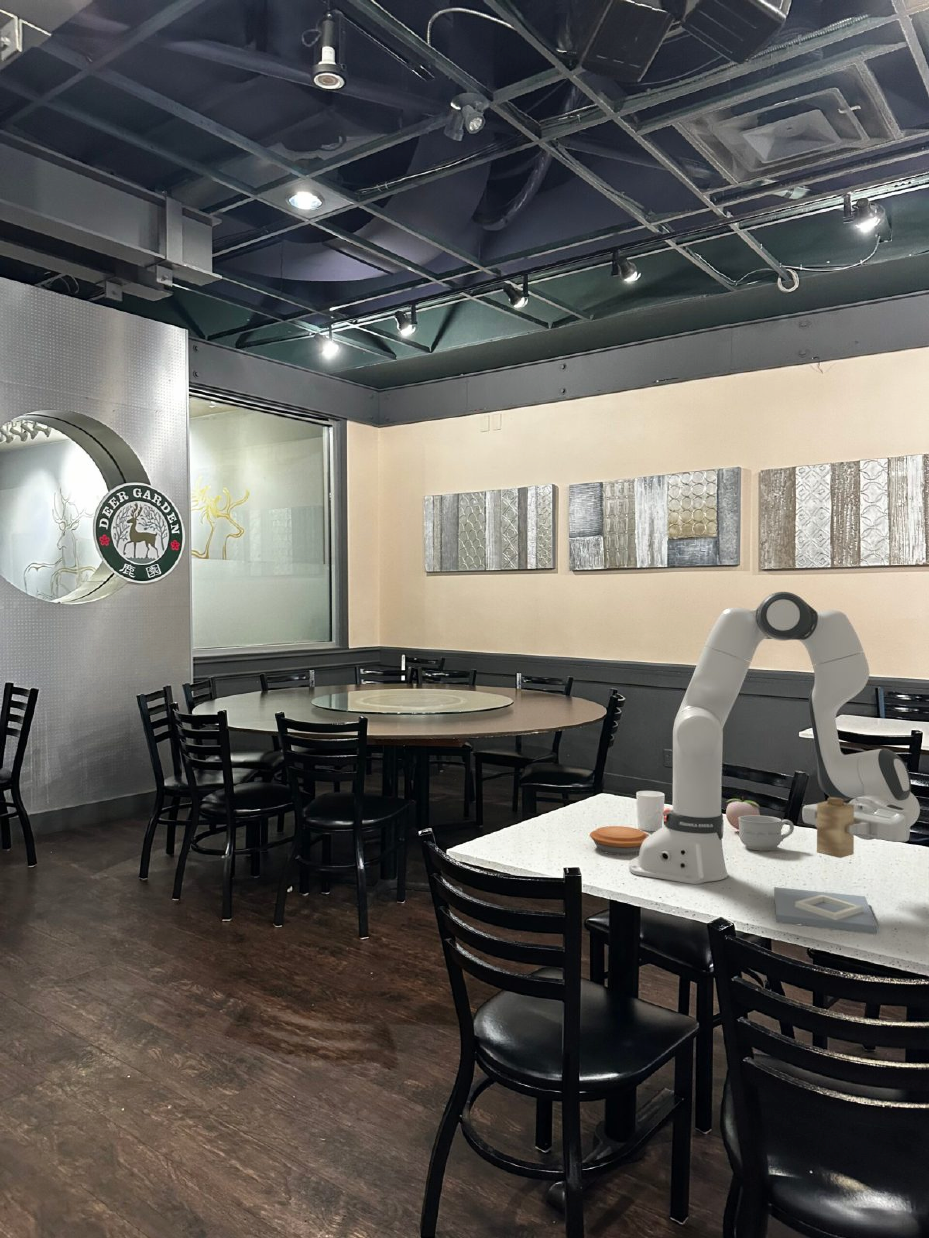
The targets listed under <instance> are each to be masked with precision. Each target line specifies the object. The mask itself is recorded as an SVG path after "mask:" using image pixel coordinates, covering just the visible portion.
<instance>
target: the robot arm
mask: <svg viewBox="0 0 929 1238" xmlns="http://www.w3.org/2000/svg"><path fill="white" fill-rule="evenodd" d="M765 639H766V640H767V639H768V640H774V641H782V642H785V641H794V640H795V641H796V640H797V641H799V642H801V643H802V644H803V645H804V647H805V649H806V651H807V653H808V657H809V659H810V662H811V664H812V668H813V673H814V684H813V688H812V689H811V690H810V691H809V694H808V709H809V714H810V715H809V716H810V721H811V729H812V734H813V735H812V736H813V740H814V741H813V742H814V746H815V753H816V754H815V755H816V759H817V781H818V784H819V788H821V790H822V791H823V793H825V794H826V795H827V796H828V797H829V798H830V797H834V798H841V799H844V802H845V801H849V802H847V803H848V804H853V805H854V824H850V823H849V824H846V825H845V833H847V834H852V835H854V836H856V837H857V838H859V839H861V840H865V841H872V840H883V841H888V842H893V843H896V842H897V843H899V842H903V843H904V842H907V841H909V839H910V834H911V833H910V832H911V826H913V825H914V824H915V823H916V822H917V821H918V818H919V816H920V813H921V806H920V803H919V800H918V799H917V797H916V796H915V795H914V793H912V792H911V790H912V781H911V780H912V779H911V774H910V771H909V768H908V766H907V765H906V763H905V761H904V760H903V759H902V758H901V757H900V756H899V755H898V754H897V753H895V752H894V751H893V750H891V749H888V748H886V747H885V748H877V749H873V750H868V751H866V750H865V751H862V752H856V753H850V754H844V753H843V752H842V751H841V746H840V741H839V734H838V727H837V723H836V720H837V719H836V718H837V713H838V711H839V710H840V708H841V707H842V706H843V705H845V704H846V703H847V702H849V701H850V700H851V699H853V698H855V697H856V696H857V695H858V694H860V692H862V691H863V690H864V688H865V686H866V685H867V683H868V681H869V677H870V667H869V664H868V660H867V657H866V653H865V652H864V649H863V648H864V647H863V646H862V643H861V641H860V638H859V636H858V634H857V632H856V630H855V628H854V626H853V625H852V623H851V621H850V619H849V618H848V616H847V615H846V614H845V613H843V612H842V611H841V610H836V609H826V610H825V609H824V610H821V611H816V610H815V609H814V608H813V606H811V605H809V604H808V603H807V602H806V601H805V600H804V599H803V598H802V597H800V596H798V595H797V594H796V593H793V592H789V591H778V592H777V591H776V592H774V593H771V594H770V595H768V596H767V597H766V598H764V599H763V600H762V601H761V603H760V604H759V605H758V606H757V607H756V608H755V609H748V608H745V607H737V606H734V607H733V606H732V607H728V608H726V609H724V610H723V611H722V612H721V613H720V615H719V616H718V618H717V620H716V621H715V622H714V624H713V626H712V629H711V631H710V632H709V634H708V636H707V639H706V641H705V643H704V646H703V648H702V651H701V654H700V656H699V659H698V662H697V664H696V667H695V669H694V672H693V675H692V677H691V680H690V682H689V684H688V686H687V689H686V692H685V694H684V696H683V699H682V701H681V704H680V707H679V709H678V712H677V713H676V717H675V718H674V722H673V727H672V728H673V729H672V809H671V808H664V812H663V825H662V828H660V829H659V830H657V831H653V832H652V833H651V834H649V836H648V837H647V838H646V839H645V840H644V841H643V843H642V845H641V848H640V851H639V853H638V856H635V857H634V858H632V859H631V860H630V862H629V867H628V869H629V871H630V873H632V874H633V875H637V876H642V877H649V878H654V879H662V880H667V881H674V882H680V883H685V884H690V885H691V884H692V885H699V884H703V883H706V882H714V881H715V882H716V881H720V880H724V879H726V878H727V877H728V875H729V873H728V871H727V867H726V863H725V858H724V857H725V856H724V851H723V840H722V839H723V837H724V815H723V814H722V775H723V749H724V748H723V741H724V739H723V738H724V737H723V735H724V731H723V729H724V726H725V724H726V722H727V720H728V717H729V715H730V712H731V711H732V707H733V706H734V704H735V702H736V699H737V697H738V695H739V693H740V690H741V688H742V685H743V684H744V681H745V678H746V676H747V673H748V672H749V671H748V670H749V668H750V666H751V662H752V661H753V658H754V655H755V653H756V651H757V648H758V646H759V645H760V643H761V642H763V641H765ZM801 814H802V818H801V819H802V822H804V823H805V824H808V825H812V826H814V827H816V828H817V803H812V804H807V805H806V804H805V805H804V806H803V807H802V813H801Z"/></svg>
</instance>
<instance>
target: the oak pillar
mask: <svg viewBox="0 0 929 1238" xmlns="http://www.w3.org/2000/svg"><path fill="white" fill-rule="evenodd" d="M848 803H849V802H847V803H846V802H845V801H844V799H841V798H834V797H830V796H829V797H827V800H826V801H821V802H817V803H816V804H817V827H816V853H818V854H823V855H825V856H830V857H834V858H838V859H842V858H846V857H849V856H852V855H854V853H855V851H854V850H855V846H854V840H855V839H854V838H855V835H852V834H847V833H845V825H846V824H849V823H850V824H854V805H853V804H848Z"/></svg>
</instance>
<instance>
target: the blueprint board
mask: <svg viewBox="0 0 929 1238" xmlns="http://www.w3.org/2000/svg"><path fill="white" fill-rule="evenodd" d="M818 895H826V896H829V897H832V898H835V899H839V900H842V901H845V902H848V903H852V904H855V905H858V906H862V907H863V912H860V913H857V914H854V915H851V916H848V917H844V918H841V919H838V920H834V919H831V918H828V917H825V916H821V915H818V914H815V913H812V912H809V911H806V910H803V909H800V908H797V907H795V902H797V901H800V900H804V899H807V898H811V897H815V896H818ZM773 896H774V897H773V899H774V908H775V910H774V911H775V919H776V923H778V924H779V923H780V924H787V925H796V924H801V925H800V926H804V925H806V926H805V927H813V928H814V927H815V928H823V929H832V930H839V931H840V930H841V931H848V932H849V931H850V932H859V933H866V934H873V935H874V934H875V935H878V924H877V922H876V919H875V918H874V914H873V912H872V909H871V907H870V905H869V903H868V900H867V898H866V896H865V895H855V894H845V893H835V892H824V891H816V890H806V889H798V888H797V889H795V888H788V887H787V888H786V887H776V886H774V887H773ZM812 906H815V907H818V908H821V909H825V910H828V911H831V912H834V913H835V912H838V911H841V910H844V909H846V908H843V907H840V906H836V905H833V904H830V903H827V902H824V901H823V902H820V903H816V904H813V905H812Z"/></svg>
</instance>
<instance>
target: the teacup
mask: <svg viewBox="0 0 929 1238" xmlns="http://www.w3.org/2000/svg"><path fill="white" fill-rule="evenodd" d="M738 819H739V830H738V832H739V833H738V834H739V840H740V841H741V843H742V844H743V845H745V847H746V848H747V849H748V850H753V851H763V852H764V851H773V850H774V849H776V847H778V846H780V844H781V842H783V840H784V839H786V838H788V837H789V836H790V835H792V833H794V829H795V825H794V823H793V822H792V821H791V820H789V819H781V818H779V817H775V816H769V815H760V816H759V815H748V816H741V817H739V818H738ZM785 824H788V825H789V829H788V830H787V831H786V832H785V833H783V834H782V829H783V826H784V825H785Z"/></svg>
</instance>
